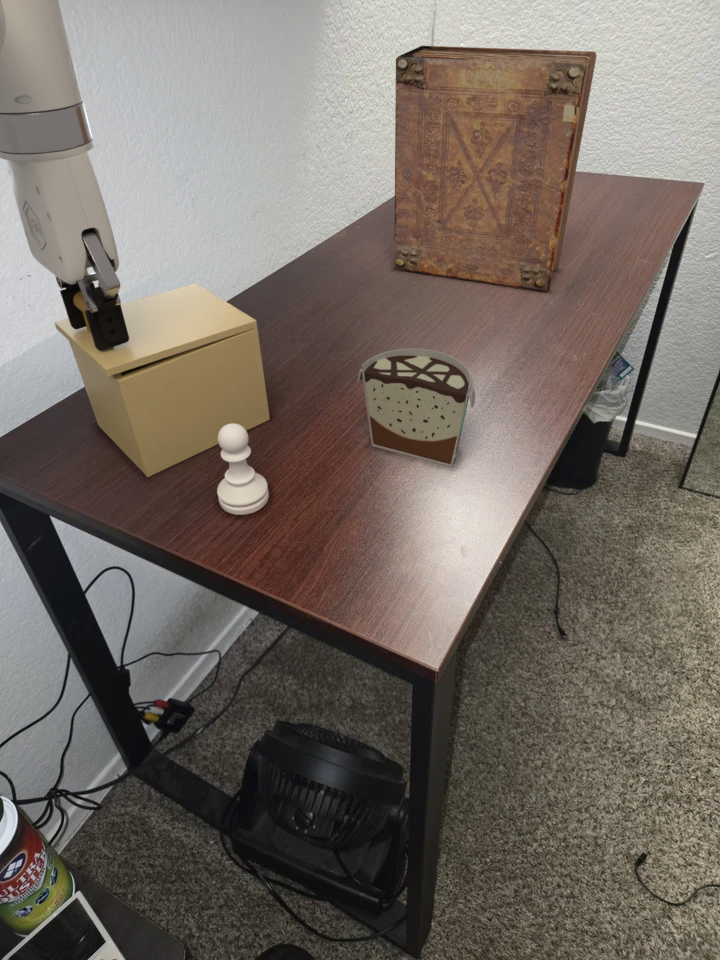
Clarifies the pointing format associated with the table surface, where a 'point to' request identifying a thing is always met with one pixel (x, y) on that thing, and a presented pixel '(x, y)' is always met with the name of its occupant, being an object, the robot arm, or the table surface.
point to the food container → (417, 402)
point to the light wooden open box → (179, 400)
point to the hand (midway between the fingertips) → (99, 333)
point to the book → (487, 160)
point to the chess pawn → (239, 474)
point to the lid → (160, 327)
